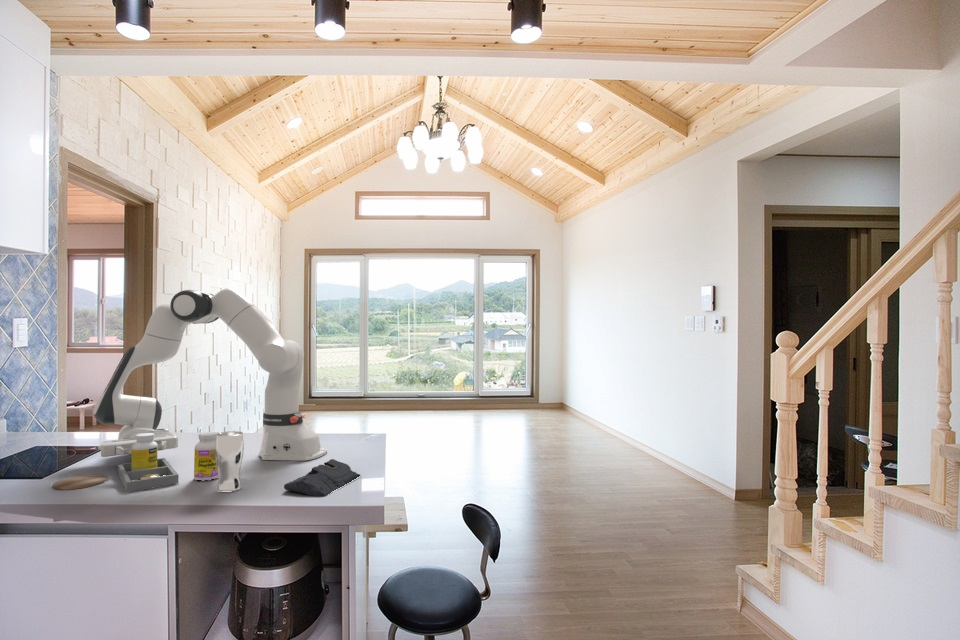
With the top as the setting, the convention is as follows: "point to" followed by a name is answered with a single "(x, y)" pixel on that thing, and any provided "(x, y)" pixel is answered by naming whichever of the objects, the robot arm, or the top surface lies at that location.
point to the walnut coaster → (79, 482)
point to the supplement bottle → (205, 457)
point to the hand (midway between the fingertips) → (143, 449)
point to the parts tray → (161, 469)
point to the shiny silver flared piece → (229, 459)
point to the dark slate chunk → (323, 479)
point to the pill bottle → (144, 452)
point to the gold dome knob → (149, 476)
